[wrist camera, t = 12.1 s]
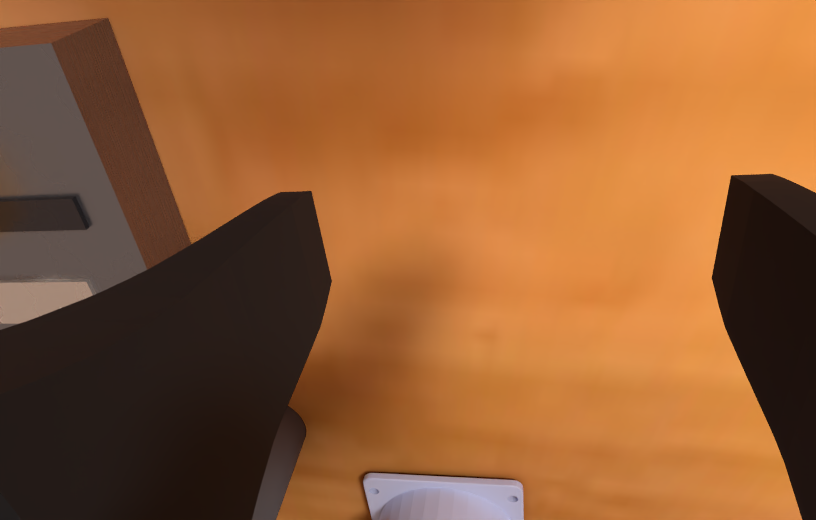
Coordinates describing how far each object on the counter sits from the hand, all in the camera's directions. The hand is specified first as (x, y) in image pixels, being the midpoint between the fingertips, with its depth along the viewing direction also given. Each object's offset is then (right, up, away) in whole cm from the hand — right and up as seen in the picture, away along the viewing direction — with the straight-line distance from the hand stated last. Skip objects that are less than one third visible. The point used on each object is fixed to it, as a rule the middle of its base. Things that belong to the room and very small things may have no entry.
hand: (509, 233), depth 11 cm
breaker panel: (-18, +3, +13) cm, 23 cm away
